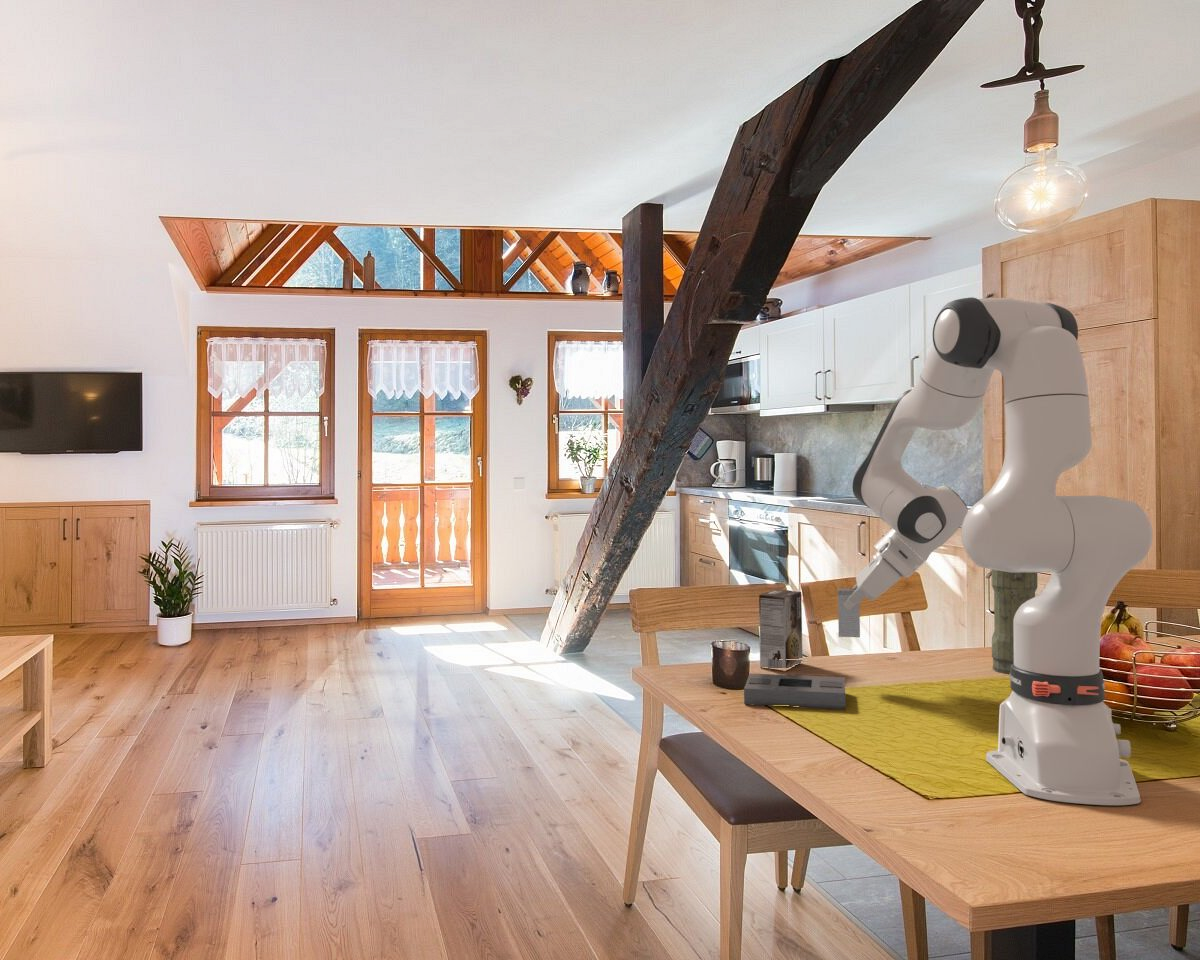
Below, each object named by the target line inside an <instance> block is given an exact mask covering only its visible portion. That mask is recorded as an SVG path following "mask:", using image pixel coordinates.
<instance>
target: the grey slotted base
mask: <svg viewBox="0 0 1200 960" xmlns="http://www.w3.org/2000/svg"><path fill="white" fill-rule="evenodd" d="M845 679H846V678H845V677H844V676H843V677H840V676H838V677H837V676H819V675H818V676H817V675H797V674H796V675H793V674H792V675H791V674H771V673H749V675H748V677H747V680H746V682H745V685H744V687H743V704H754V705H753V706H759V705H789V706H799V707H808V708H807V709H817V708H822V710H836V709H837V711H838V710H839V711H841V710H843V711H846V709H847V708H846V706H847V705H846V682H845V681H846V680H845Z"/></svg>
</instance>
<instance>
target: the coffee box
mask: <svg viewBox="0 0 1200 960" xmlns="http://www.w3.org/2000/svg"><path fill="white" fill-rule="evenodd" d="M758 597H759V598H758V604H759V605H758V607H759V609H758V610H759V666H760V667H768V668H789V667H792V666H793V665H795V664H798V663H801V661H804V658H803V620H802V619H803V618H802V617H803V616H802V615H803V613H802V611H803V610H802V609H803V608H802V607H803V606H802V605H803V604H802V591H796V590H795V591H793V590H788V589H774V590H770V591H767V592H764V593H761V594H759V595H758ZM799 658H803V660H786V659H799ZM779 659H783V660H779ZM760 667H759V668H760Z"/></svg>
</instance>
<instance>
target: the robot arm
mask: <svg viewBox="0 0 1200 960" xmlns="http://www.w3.org/2000/svg"><path fill="white" fill-rule="evenodd" d="M1078 338H1079V327H1078V322H1077V319H1076V317H1075V316H1074V313H1073V312H1071V311H1070V310H1069V309H1067V308H1066V307H1063V306H1060V305H1057V304H1054V303H1050V302H1035V301H1029V300H1020V299H1014V298H1012V297H1011V298H1010V297H989V298H988V297H987V298H985V297H984V298H977V297H973V296H972V297H962V298H958V299H954V300H951V301H948V302H947V303H946V304H945V305H943V307H941V309H940V311H939V313H937V316H936V318H935V320H934V323H933V328H932V343H933V344H932V346H931V347H930V350H929V352H928V354H927V355H926V359H925V361H924V363H923V367H922V369H921V371H920V374H919V376H918V379H917V381H916V384H915V385H914V387H913V388H911V389H908V390H906V391H904V392H903V393H901V394H900V396H899V397H898V398H897V399H896V400H895V402H894V404H893V405H892V407H891V408H890V411H889V412H888V414H887V416H886V418H885V421H884V422H883V424H882V426H881V429H880V431H879V433H878V434H877V437H876V438H875V441H874V442H873V444H872V446H871V448H870V450H869V452H868V454H867V456H866V457H865V458H864V460H863V461H862V463H861V464H860V465H859V467H858V468H857V470H856V471H855V473H854V475H853V479H852V493H853V496H854V498H856V499H857V500H858V501H859V502H860V503H862V504H863V505H864V506H865V507H867V508H869V509H870V510H871V511H872V512H874V513H875V514H876V515H877V516H878V517H879V518H880V519H881V520H882V521H883V522H885V523H886V524H887V525H888V526H889V527H890V528H891V529H889V530H888V532H886V533H885V534H884V535H883V536H882V537H881V538H880V539H879V540H878V541H877V542H876V543H875V544H874V545H873V547H874V549H875V550H876V552H875V554H873V555H872V558H873V559H872V560H871V561H870V562H869V563H868V564H867V565H866V566H865V567H864V568H862V569H861V571H859V572H858V573H857V575H856V576H855V580H856V581H855V582H856V584H855V585H853V587H851V589H856V590H855V592H854V593H853V594H852V595H851V596H850V597H848V598H847V599H846V600H845V601H844V603H843V605H844V607H845V608H847V609H848V610H851V609H852V608H853V607H854V606H855V605H856V604H858V603H859V604H860V602H862V601H864V599H868V600H869V601H873V600H876V599H877V598H878V597H880V596H881V595H882V594H884V593H885V592H886V591H887V590H889V589H890V588H891V587H892V586H894V585H895V584H896V583H898V581H900V580H901V579H902V577H903V578H904V579H906V578H907V579H908V578H910V577H911V576H912V575H913V574H914V573H915V572H916V571H918V569H919V568H920V567H921V566H922V565H923V564H924V563H925V562H927V560H928V559H929V556H930V555H931V554H932V553H933V552H934V551H935V550H937V549H939V548H940V547H942V546H944V545H945V543H947V542H948V541H949V539H950V538H952V537H953V536H954V535H955V533H956V532H957V531H958V530H959V529H960V528H961V532H960V533H961V541H962V546H963V549H964V551H965V553H966V554H967V556H968V558H969V559H970V560H971V562H973V563H974V564H975V565H976V566H978V567H980V568H984V569H988V570H991V569H993V570H998V571H1004V572H1011V573H1026V572H1037V573H1051V574H1050V577H1049V578H1050V579H1049V581H1048V583H1047V584H1046V586H1045V588H1043V590H1042V591H1041V592H1040V593H1039V594H1037V595H1035V597H1034V598H1032V599H1030V600H1028V601H1026V602H1025V603H1023V604H1022V605H1021V606H1020V607H1019V608H1018V610H1017V612H1016V614H1015V616H1014V619H1013V620H1014V663H1013V664H1012V665H1011V672H1010V674H1009V679H1010V689H1011V690H1012V691H1011V693H1010V695H1008V696H1007V698H1006V699H1005V700H1004V701H1002V702H1001V703H1000V704H999V712H998V713H999V717H998V738H997V739H998V740H997V741H998V744H997V749H996V750H990V751H988V752H986V756H985V757H986V758H985V761H986V762H988V763H989V765H991V766H992V767H993V768H994V769H995V770H997V771H998V772H999V773H1000V774H1001V775H1002V776H1003V777H1005V779H1007V780H1008V781H1009V782H1010V783H1011V784H1012V785H1013V786H1015V788H1017V789H1018V791H1020V792H1022V793H1023V794H1024V795H1026V796H1029V797H1034V798H1038V799H1042V800H1048V801H1054V802H1060V803H1061V802H1062V803H1070V804H1081V805H1096V806H1130V805H1136V804H1137V805H1138V804H1141V795H1140V791H1139V789H1138V788H1139V787H1138V786H1137V782H1136V779H1135V777H1134V774H1133V770H1132V768H1131V765H1130V763H1129V761H1127V760H1125V759H1121V758H1128V759H1129V758H1131V757H1132V756H1131V754H1132V747H1131V740H1128V739H1120V738H1117V735H1121V731H1122V730H1121V729H1122V727H1121V724H1120V723H1114V722H1113V719H1112V709H1111V708H1110V707H1109V706H1108V705H1106V704H1105V700H1106V692H1105V689H1106V686H1105V685H1106V683H1105V680H1104V675H1103V671H1102V670H1101V669H1100V650H1101V649H1100V648H1101V647H1100V645H1101V634H1102V633H1101V632H1102V631H1101V630H1102V621H1103V617H1104V616H1103V615H1104V611H1105V609H1106V606H1107V603H1108V600H1109V599H1110V596H1111V595H1112V593H1113V591H1115V590H1114V589H1115V588H1116V587H1117V586H1118V584H1119V582H1120V581H1121V580H1122V579H1123V577H1125V575H1126V574H1127V573H1128V572H1130V571H1131V570H1132V569H1134V568H1135V567H1136V566H1137V565H1140V564H1141V563H1142V561H1143V560H1144V559H1145V558H1146V556H1148V554H1149V552H1150V550H1151V547H1152V543H1153V534H1154V533H1153V527H1152V524H1151V521H1150V518H1149V517H1148V515H1147V513H1146V511H1145V510H1144V509H1143V508H1142V507H1141V506H1140V505H1139V504H1138V503H1137V502H1135V501H1131V500H1128V499H1123V498H1117V497H1113V496H1112V497H1110V496H1107V495H1057V494H1056V488H1057V483H1058V480H1059V478H1060V477H1061V475H1062V474H1063V473H1064V472H1066V471H1068V470H1070V469H1072V468H1074V467H1075V466H1077V465H1079V464H1080V463H1082V461H1084V460H1085V459H1086V458H1087V456H1088V454H1089V453H1090V451H1091V448H1092V445H1093V441H1092V440H1093V439H1092V426H1091V412H1090V401H1089V399H1090V398H1089V388H1088V379H1087V374H1086V369H1085V363H1084V360H1083V356H1082V352H1081V349H1080V346H1079V343H1078ZM995 370H997V371H999V372H1000V373H1001V375H1002V378H1003V390H1004V391H1003V393H1004V394H1003V396H1004V397H1003V398H1004V399H1003V400H1004V418H1005V449H1004V450H1005V452H1004V453H1005V454H1004V459H1003V463H1002V467H1001V469H1000V472H999V474H998V477H997V479H996V480H995V482H994V484H993V485H992V487H991V489H990V490H988V492H987V493H986V494H985V495H984V496H983V497H982V498H981V499H980V500H978V501H977V502H976V503H974V505H972V506H971V507H970V508H969V510H968V506H967V504H966V503H965V501H964V500H963V499H962V498H961V497H960V495H959V494H958V493H957V492H956V491H954V489H952V488H951V487H949V486H947V485H941V486H938V487H937V488H934V487H930V486H929V487H928V486H926V485H923V484H921V483H920V482H918V481H917V479H915V478H913V476H911V475H910V474H909V473H908V472H906V471H905V468H904V467H903V465H902V462H901V461H902V460H901V459H902V457H903V455H904V453H905V450H906V449H907V447H908V444H909V443H910V441H911V439H912V437H913V436H914V434H915V432H916V430H917V429H918V428H922V429H927V430H931V431H949V430H954V429H959V428H960V427H963V426H965V425H967V424H969V422H971V421H972V420H973V419H974V418H975V416H976V414H977V413H978V411H979V410H980V408H981V405H982V403H983V400H984V397H985V396H986V393H987V390H988V387H989V384H990V382H991V381H990V380H991V378H992V375H993V373H994V371H995Z"/></svg>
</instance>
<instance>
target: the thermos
mask: <svg viewBox="0 0 1200 960" xmlns="http://www.w3.org/2000/svg"><path fill="white" fill-rule="evenodd" d="M990 570H991V587H992V589H993V602H994V603H993V608H994V609H993V610H994V611H993V612H994V613H993V614H994V615H993V616H994V617H993V618H994V620H993V621H994V622H993V624H994V626H993V627H994V631H993V633H992V636H991V657H992V670H993V669H994V670H993V671H995V672H997V673H1002V674H1006V675H1007V674H1008V675H1010V672H1011V665H1012V664H1013V663H1014V620H1013V619H1014V616H1015V614H1016V612H1017V610H1018V608H1019V607H1020V606H1021V605H1022V604H1023V603H1025V602H1026V601H1028V600H1030V599H1032V598H1034V597H1036V591H1037V589H1038V572H1026V573H1011V572H1004V571H998V570H993V569H990Z"/></svg>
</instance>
